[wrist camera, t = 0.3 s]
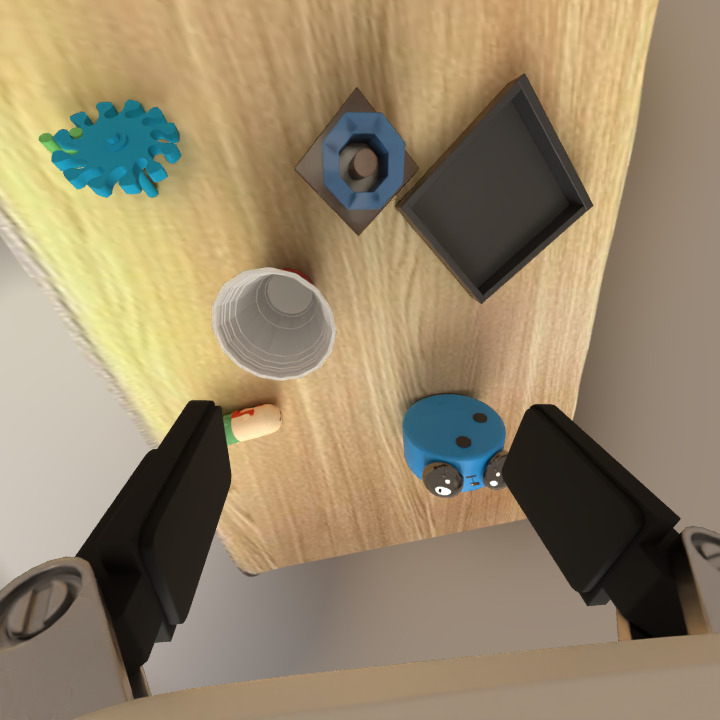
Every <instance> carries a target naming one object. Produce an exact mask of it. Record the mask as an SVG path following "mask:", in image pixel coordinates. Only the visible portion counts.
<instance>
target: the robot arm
mask: <svg viewBox="0 0 720 720" xmlns="http://www.w3.org/2000/svg"><path fill="white" fill-rule="evenodd" d="M502 478H503V480H504V482H505V483H506V485H507V487H508V488H509V490H510V491H511V493H512V494H513V496H514V498H515V499H516V501H517V502H518V504H519V505H520V507H521V509H522V510H523V512H524V513H525V515H526V516H527V518H528V520H529V521H530V523H531V524H532V526H533V527H534V529H535V531H536V532H537V534H538V535H539V537H540V538H541V540H542V542H543V543H544V545H545V546H546V548H547V550H548V551H549V552H550V554H551V556H552V557H553V559H554V560H555V562H556V564H557V565H558V567H559V568H560V570H561V572H562V573H563V575H564V576H565V578H566V579H567V581H568V582H569V584H570V586H571V587H572V588H573V589H574V590H575V591H577V592H579V594H580V595H581V597H582V599H583V600H584V602H585V603H586V605H587V606H595V605H605V604H607V603H608V601H609V600H610V599H611V600H612V602H613V603H614V605H615V606H616V616H617V629H618V642H609V643H599V644H588V645H578V646H568V647H558V648H548V649H539V650H528V651H518V652H509V653H499V654H489V655H479V656H470V657H461V658H451V659H441V660H431V661H421V662H412V663H403V664H394V665H385V666H375V667H366V668H357V669H348V670H339V671H330V672H321V673H311V674H302V675H292V676H284V677H276V678H268V679H260V680H253V681H245V682H237V683H230V684H222V685H215V686H207V687H200V688H191V689H186V690H181V691H176V692H170V693H165V694H159V695H154V696H152V695H151V692H150V689H149V685H148V682H147V679H146V676H145V672H144V669H143V666H142V665H143V664H144V663H145V662H147V661H148V658H149V656H150V653H151V650H152V648H153V645H154V643H157V642H169V641H171V640H172V637H173V634H174V631H175V628H176V625H177V624H182V623H184V621H185V620H186V618H187V615H188V613H189V610H190V607H191V604H192V601H193V598H194V595H195V592H196V588H197V586H198V583H199V580H200V576H201V573H202V570H203V567H204V564H205V561H206V558H207V555H208V552H209V549H210V546H211V543H212V540H213V537H214V534H215V531H216V528H217V525H218V522H219V519H220V515H221V512H222V509H223V506H224V503H225V500H226V497H227V494H228V491H229V488H230V484H231V468H230V461H229V454H228V448H227V441H226V434H225V428H224V421H223V414H222V408H221V406H215V403H214V401H207V400H191V401H189V402H188V404H187V405H186V407H185V408H184V410H183V411H182V413H181V414H180V416H179V417H178V419H177V420H176V422H175V423H174V425H173V426H172V428H171V429H170V431H169V432H168V434H167V435H166V437H165V438H164V440H163V441H162V443H161V444H160V446H159V447H158V449H153V450H151V451H149V452H148V453H147V454H146V455H145V457H144V458H143V460H142V461H141V462H140V464H139V465H138V467H137V468H136V470H135V471H134V473H133V474H132V475H131V477H130V478H129V480H128V481H127V483H126V484H125V485H124V487H123V488H122V490H121V491H120V493H119V494H118V496H117V497H116V499H115V500H114V502H113V503H112V504H111V506H110V507H109V508H108V510H107V511H106V513H105V514H104V516H103V517H102V518H101V520H100V522H99V523H98V524H97V526H96V527H95V529H94V530H93V531H92V533H91V534H90V536H89V537H88V539H87V540H86V542H85V543H84V544H83V546H82V547H81V549H80V550H79V552H78V553H77V554H76V556H75V557H63V558H58V559H54V560H50V561H47V562H45V563H43V564H40V565H38V566H36V567H34V568H31V569H30V570H28V571H27V572H25V573H23V574H22V575H20V576H18V577H17V578H15V579H14V580H13V581H11V582H10V583H9V584H8V585H6V586H5V587H4V588H3V589H1V590H0V720H720V534H718V533H716V532H714V531H711V530H708V529H705V528H702V527H695V526H690V527H686V528H685V529H684V530H683V531H682V532H681V533H680V534H679V533H678V532H677V531H676V530H675V529H673V527H674V526H675V525H676V524H677V523H678V522H679V520H680V517H679V516H677V515H676V514H675V513H674V512H673V511H672V510H671V509H670V508H669V507H667V506H666V505H665V504H664V503H663V502H662V501H661V500H660V499H658V498H657V497H656V496H655V495H654V494H653V493H652V492H651V491H650V490H649V489H647V488H646V487H645V486H644V485H643V484H642V483H641V482H640V481H639V480H637V479H636V478H635V477H634V476H633V475H632V474H631V473H630V472H629V471H627V470H626V469H625V468H624V467H623V466H622V465H621V464H620V463H619V462H617V461H616V460H615V459H614V458H613V457H612V456H611V455H610V454H608V453H607V452H606V451H605V450H604V449H603V448H602V447H601V446H600V445H599V444H597V443H596V442H595V441H594V440H593V439H592V438H591V437H590V436H588V435H587V434H586V433H585V432H584V431H583V430H582V429H581V428H580V427H579V426H577V425H576V424H575V423H574V422H573V421H572V420H571V419H570V418H569V417H567V416H566V415H565V414H564V413H563V412H562V411H561V410H560V409H559V408H557V407H556V406H555V405H551V404H534V405H532V406H531V407H530V409H528V410H526V412H525V414H524V416H523V419H522V421H521V424H520V426H519V428H518V431H517V433H516V436H515V438H514V440H513V443H512V445H511V448H510V450H509V453H508V455H507V457H506V460H505V462H504V465H503V467H502Z"/></svg>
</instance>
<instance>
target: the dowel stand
mask: <svg viewBox="0 0 720 720" xmlns="http://www.w3.org/2000/svg"><path fill="white" fill-rule="evenodd" d="M345 112H376V111H375V110H374V108H373V107H372V106H371V104H370V103H369V102H368V100H367V99H366V98H365V97H364V95H363V94H362V93H361V91H360V90H359V89H358V87H357V88H356V89H355V90H354V91H353V93H352V94H351V95H350V97H349V98H348V99H347V101H346V102H345V103H344V104H343V106H342V107H341V108H340V110H339V111H338V112H337V114H336V115H335V116H334V118H333V119H332V120H331V121H330V123H329V124H328V125H327V127H326V128H325V129H324V131H323V132H322V133H321V134H320V136H319V137H318V138H317V140H316V141H315V142H314V144H313V145H312V146H311V148H310V149H309V150H308V151H307V153H306V154H305V155H304V157H303V158H302V159H301V161H300V162H299V163H298V164H297V166H296V167H295V170H296V171H297V172H298V173H299V174H300V175H301V176H302V178H303V179H304V180H305V181H306V182H307V183H308V184H309V185H310V186H311V187H312V188H313V189H314V190H315V191H316V192H317V193H318V194H319V195H320V196H321V197H322V198H323V200H324V201H325V202H326V203H327V204H328V205H329V206H330V207H331V208H332V209H333V210H334V211H335V212H336V213H337V214H338V215H339V216H340V217H341V218H342V219H343V220H344V221H345V223H346V224H347V225H348V226H349V227H350V228H351V229H352V230H353V231H354V232H355V233H356V234H357V235H358V236H359V235H360V234H361V233H362V232H363V231H364V229H365V228H366V227H367V226H368V225H369V224H370V223H371V222H372V221H373V219H374V218H375V217H376V216H377V215H378V214H379V213H380V212H381V211H382V209H383V208H384V207H385V206H386V205H387V204H388V203H389V202H390V201H391V199H392V198H393V197H394V196H395V195H396V194H397V193H398V192H399V191H400V190H401V188H402V187H403V186H404V185H405V184H406V183H407V182H408V181H409V180H410V178H411V177H412V176H413V175H414V174H415V173H416V172H417V171H418V170H419V168H418V166H417V165H416V164H415V162H414V161H413V160H412V158H411V157H410V156H409V154H408V153H407V152H406V150H405V157H404V176H403V184H402V185H401V186H400V187H399V188H398V189H397V191H396V192H395V193H394V194H393V195H392V196H391V197H390V198H389V200H388V201H387V202H386V203H385V204H384V205H383V206H382V207H381V208H380V209H361V210H349V209H347V208H345V207H344V206H343V205H342V204H341V203H340V202H339V201H338V200H337V199H336V198H335V197H334V196H333V194H332V193H331V192H330V191H329V190H328V189H327V188H326V187H325V186H324V176H323V158H322V142H323V141H324V139H325V138H326V137H327V136H328V134H329V133H330V132H331V130H332V129H333V128H334V126H335V125H336V124H337V123H338V121H339V120H340V119H341V117H342V116H343V115H344V114H345ZM339 166H340V177H341V178H342V179H343V180H344V181H345V182H346V183H347V184H348V186H349V187H350V188H351V189H352V190H353V191H354V192H367V191H368V190H369V189H370V188H371V187H372V185H373V184H374V183H375V182H376V181H377V180H378V174H379V158H378V157H377V156H376V154H375V153H374V152H373V151H372V149H371V148H370V147H369V146H368V145H367V143H349V144H348V145H347V146H346V147H345V149H344V150H343V151H342V152H341V154H340V155H339Z"/></svg>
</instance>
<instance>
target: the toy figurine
mask: <svg viewBox="0 0 720 720" xmlns="http://www.w3.org/2000/svg"><path fill="white" fill-rule="evenodd" d="M223 421H224V428H225V434H226V441H227V445H230V444H234V443H240V442H241V441H245V440H249V439H253V438H256V437H260V436H264V435H267V434H271V433H274V432H275V431H277V430H278V429H279V427H280V426H281V424H282V413H281V411H280V410H279V409H278V408H277V407H276V406H274V405H271V404H266V405H264V404H260V405H259V406H255V407H252V408H247V409H244V410H237V411H235V412H233V413H232V414H228V415H225V416H223Z"/></svg>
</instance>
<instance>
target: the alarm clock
mask: <svg viewBox="0 0 720 720" xmlns="http://www.w3.org/2000/svg"><path fill="white" fill-rule="evenodd" d="M402 427H403V442H404V455H405V459H406V462H407V464H408V466H409V467H410V469H411V470H412V472H413V473H414V474H415V475H416V476H417V477H418V478H420V479H421V480H422V481H423V483H424V485H425V487H426V488H427V489H428V490H429V491H430V492H431V493H432V494H434V495H436V496H438V497H441V498H451V497H454V496H456V495H458V494H459V493H460V492H466V491H472V490H476V489H479V488H481V487H484V486H487V487H488V488H490V489H494V490H499V489H503V488H505V487H507V485H506V483H505V482H504V480H503V478H502V467H503V465H504V462H505V460H506V457H507V455H508V453H509V452H508V451H506V450H504V443H505V435H506V431H505V426H504V423H503V421H502V419H501V418H500V416H499V415H498V414H497V413H496V412H495V411H494V410H493V409H492V408H491V407H489V406H488V405H486V404H485V403H483V402H481V401H479V400H476V399H473V398H470V397H467V396H462V395H454V394H442V395H434V396H430V397H427V398H424V399H421V400H420V401H418V402H416V403H415V404H413V405H412V406H411V407H410V408H409V409H408V410H407V412H406V413H405V415H404V418H403V424H402Z"/></svg>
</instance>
